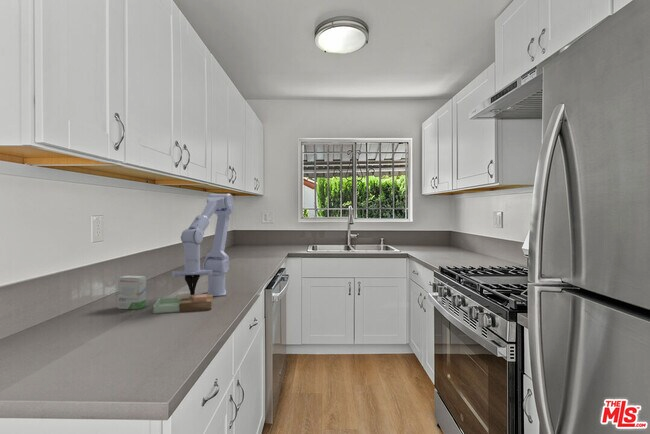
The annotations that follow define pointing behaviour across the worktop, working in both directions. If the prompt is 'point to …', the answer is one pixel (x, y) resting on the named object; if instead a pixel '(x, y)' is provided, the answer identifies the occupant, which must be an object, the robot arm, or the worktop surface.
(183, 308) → the walnut board
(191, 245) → the robot arm
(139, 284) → the ink box
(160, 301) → the tray
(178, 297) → the cream tile
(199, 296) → the terracotta tile
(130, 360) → the worktop surface
